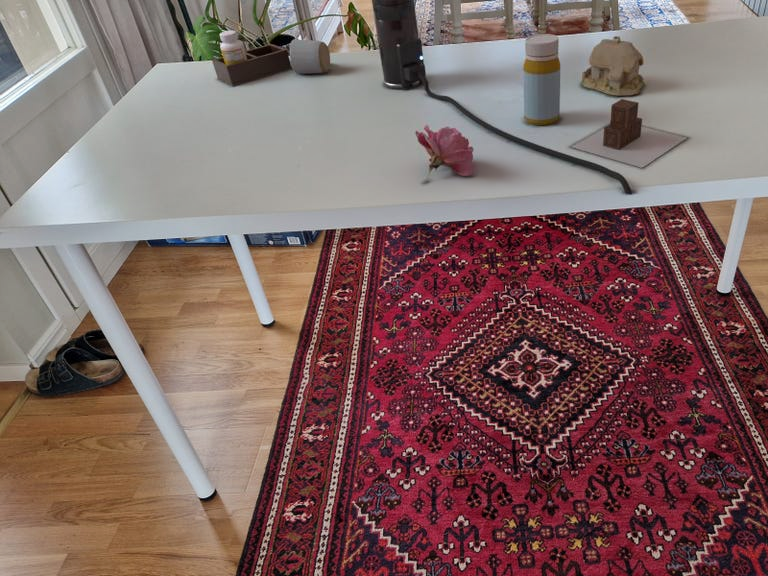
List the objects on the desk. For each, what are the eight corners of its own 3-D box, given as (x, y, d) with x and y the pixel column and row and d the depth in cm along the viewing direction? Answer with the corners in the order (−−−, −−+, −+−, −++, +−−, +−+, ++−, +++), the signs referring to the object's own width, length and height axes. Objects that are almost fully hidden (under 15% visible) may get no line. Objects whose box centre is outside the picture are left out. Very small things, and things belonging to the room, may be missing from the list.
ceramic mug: (325, 76, 157) (318, 43, 152) (293, 77, 158) (285, 44, 153) (337, 63, 165) (331, 31, 160) (307, 64, 166) (299, 32, 161)
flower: (452, 172, 120) (480, 126, 115) (459, 200, 113) (489, 153, 108) (397, 145, 115) (424, 96, 109) (402, 174, 108) (431, 123, 102)
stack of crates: (642, 168, 109) (646, 128, 104) (571, 147, 117) (572, 109, 113) (686, 138, 117) (692, 100, 112) (617, 120, 125) (620, 84, 120)
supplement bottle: (234, 71, 163) (222, 29, 156) (254, 71, 162) (242, 29, 155) (225, 78, 159) (212, 36, 152) (245, 78, 158) (233, 35, 151)
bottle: (536, 129, 124) (535, 46, 114) (518, 118, 129) (516, 38, 119) (566, 120, 127) (568, 39, 117) (547, 110, 131) (547, 31, 121)
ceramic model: (653, 83, 139) (659, 33, 132) (630, 100, 133) (635, 48, 126) (595, 74, 146) (598, 26, 139) (571, 89, 139) (572, 40, 133)
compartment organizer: (291, 68, 164) (287, 49, 161) (232, 86, 156) (226, 66, 153) (275, 62, 169) (271, 43, 166) (217, 79, 161) (211, 60, 158)
